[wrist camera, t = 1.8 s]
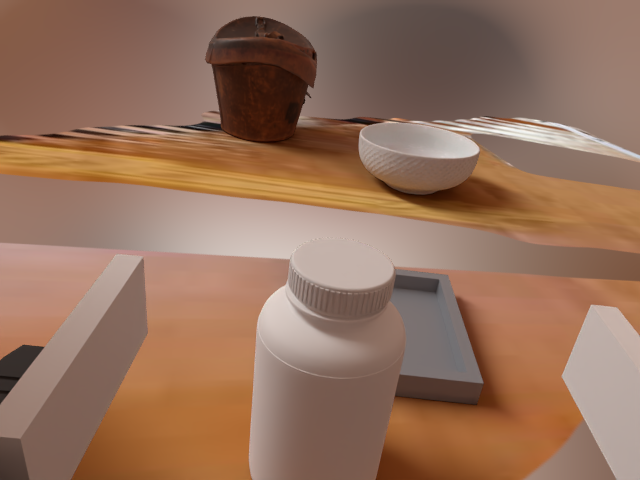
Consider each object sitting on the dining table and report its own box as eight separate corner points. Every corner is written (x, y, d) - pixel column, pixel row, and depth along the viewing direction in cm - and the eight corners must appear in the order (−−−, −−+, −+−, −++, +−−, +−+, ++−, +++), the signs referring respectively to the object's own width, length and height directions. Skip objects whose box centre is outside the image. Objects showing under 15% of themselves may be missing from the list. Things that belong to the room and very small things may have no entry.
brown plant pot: (259, 157, 81) (268, 32, 73) (182, 123, 92) (181, 11, 84) (335, 140, 94) (349, 32, 85) (258, 112, 105) (265, 14, 97)
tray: (276, 382, 39) (278, 360, 38) (293, 275, 53) (294, 257, 52) (476, 404, 40) (483, 383, 39) (443, 292, 53) (447, 275, 52)
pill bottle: (363, 418, 37) (402, 228, 30) (386, 527, 30) (443, 313, 23) (249, 417, 36) (262, 220, 29) (245, 529, 29) (260, 306, 22)
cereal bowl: (459, 172, 86) (470, 129, 82) (477, 215, 71) (490, 165, 68) (355, 158, 86) (361, 115, 83) (350, 198, 71) (358, 147, 68)
